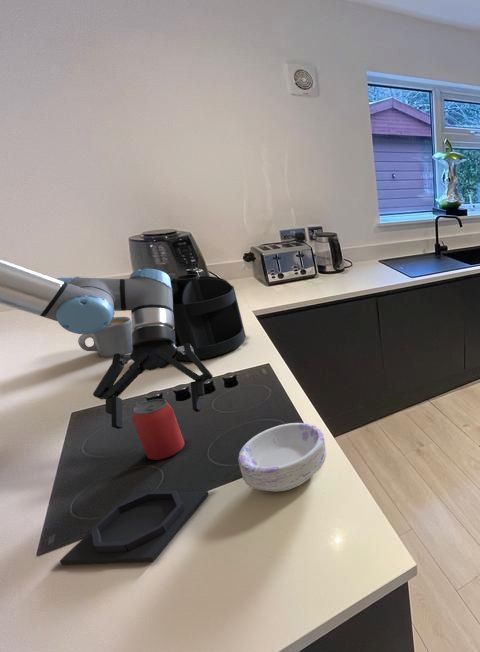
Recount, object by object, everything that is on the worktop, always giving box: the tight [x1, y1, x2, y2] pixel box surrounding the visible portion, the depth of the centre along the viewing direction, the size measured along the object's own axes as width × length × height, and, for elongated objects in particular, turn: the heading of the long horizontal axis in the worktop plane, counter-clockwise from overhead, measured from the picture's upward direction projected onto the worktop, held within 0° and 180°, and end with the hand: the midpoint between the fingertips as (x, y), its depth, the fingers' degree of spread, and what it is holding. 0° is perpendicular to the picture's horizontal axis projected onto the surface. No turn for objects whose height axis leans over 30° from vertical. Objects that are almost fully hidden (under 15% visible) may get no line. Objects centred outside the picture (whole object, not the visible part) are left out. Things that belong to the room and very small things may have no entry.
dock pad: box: [59, 490, 209, 566], centre depth 70 cm, size 14×14×2 cm
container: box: [170, 273, 247, 362], centre depth 131 cm, size 22×23×25 cm
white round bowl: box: [237, 422, 327, 493], centre depth 82 cm, size 15×15×8 cm
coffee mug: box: [77, 316, 133, 358], centre depth 129 cm, size 13×10×10 cm
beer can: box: [132, 398, 185, 461], centre depth 86 cm, size 7×7×12 cm
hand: (158, 418), depth 87 cm, fingers open, 13 cm apart
